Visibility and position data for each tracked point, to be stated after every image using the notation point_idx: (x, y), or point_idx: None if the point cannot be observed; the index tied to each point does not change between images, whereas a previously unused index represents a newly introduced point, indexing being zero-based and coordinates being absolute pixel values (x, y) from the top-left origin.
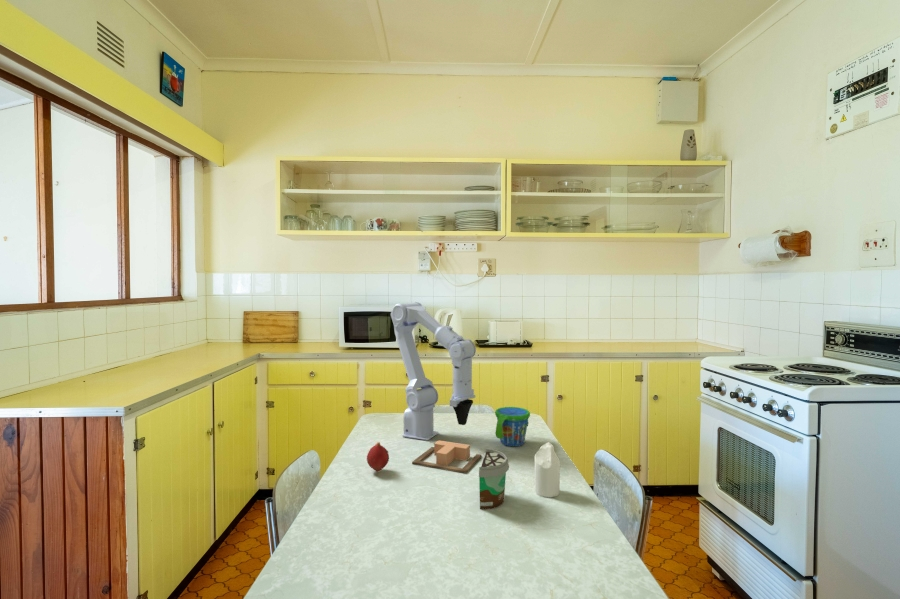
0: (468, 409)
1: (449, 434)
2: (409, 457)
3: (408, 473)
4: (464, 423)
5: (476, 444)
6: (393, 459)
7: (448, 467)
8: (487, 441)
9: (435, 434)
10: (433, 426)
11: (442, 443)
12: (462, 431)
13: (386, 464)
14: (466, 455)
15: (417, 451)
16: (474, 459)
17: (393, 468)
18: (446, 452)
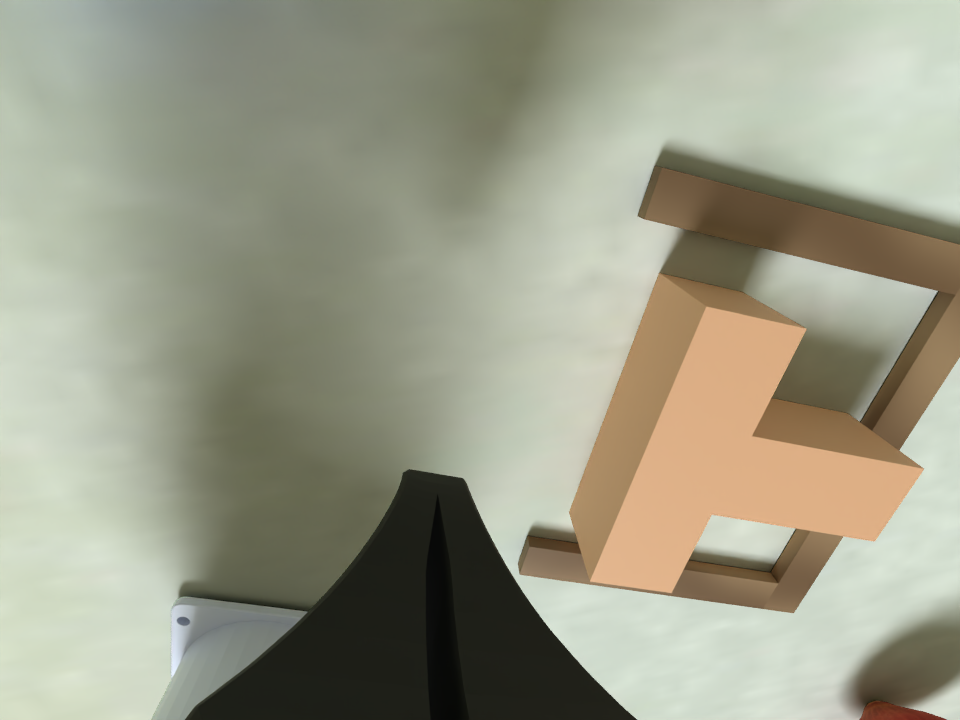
0: (422, 632)
1: (164, 518)
2: (679, 636)
3: (922, 584)
4: (470, 493)
5: (335, 259)
6: (711, 692)
7: (922, 396)
8: (209, 154)
9: (238, 607)
10: (215, 679)
11: (666, 541)
12: (30, 437)
13: (928, 717)
14: (758, 303)
15: (576, 623)
16: (777, 221)
17: (839, 660)
18: (886, 473)
